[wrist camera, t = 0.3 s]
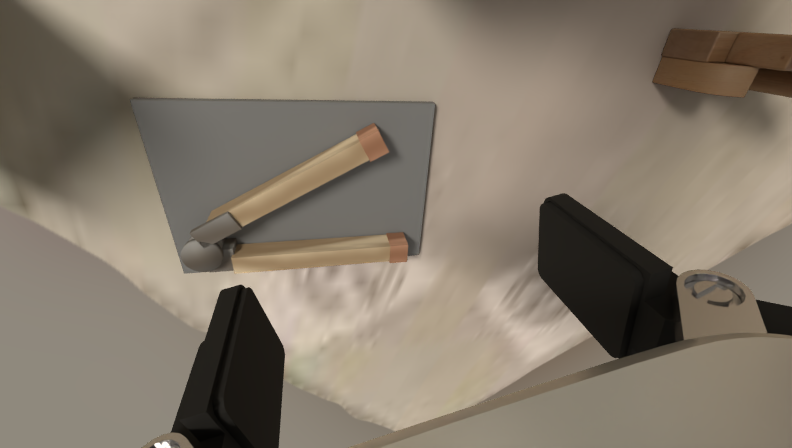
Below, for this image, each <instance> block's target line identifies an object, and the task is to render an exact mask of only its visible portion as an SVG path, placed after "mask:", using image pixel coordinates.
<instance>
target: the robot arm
mask: <svg viewBox="0 0 792 448" xmlns="http://www.w3.org/2000/svg"><path fill="white" fill-rule="evenodd" d="M672 268H673V267H671V266H670V265H668V264H667V263H666V262H664V261H663V260H661V259H660V258H658V257H657V256H655V255H654V254H652V253H651V252H650V251H648V250H647V249H645V248H644V247H642V246H641V245H639V244H638V243H637V242H635V241H634V240H632V239H631V238H629V237H628V236H626V235H625V234H624V233H622V232H621V231H619V230H618V229H616V228H615V227H613V226H612V225H611V224H609V223H608V222H606V221H605V220H603V219H602V218H600V217H599V216H597V215H596V214H595V213H593V212H592V211H590V210H589V209H587V208H586V207H584V206H583V205H582V204H580V203H579V202H577V201H576V200H574V199H573V198H571V197H570V196H569V195H567V194H565V193H564V194H559V195H555V196H552V197H548V198H546V199H545V201H544V204H541V206H540V219H539V248H538V272H539V274H540V276H541V278H542V279H543V280H544V281H545V283H546V284H547V285H548V286H549V287H550V288H551V289H552V290H553V292H554V293H555V294H556V295H557V296H558V297H559V298H560V299H561V301H562V302H563V303H564V304H565V305H566V306H567V307H568V308H569V310H570V311H571V312H572V313H573V314H574V315H575V316H576V317H577V319H578V320H579V321H580V322H581V323H582V324H583V325H584V326H585V328H586V329H587V330H588V331H589V332H590V333H591V334H592V335H593V337H594V338H595V339H596V340H597V341H598V342H599V343H600V344H601V345H602V347H603V348H604V349H605V350H606V351H607V352H608V353H609V354H610V355H611V356H612V357H614V358H619V359H617V360H614V361H610V362H608V363H604V364H601V365H598V366H595V367H592V368H589V369H586V370H583V371H579V372H576V373H573V374H570V375H567V376H564V377H561V378H558V379H554V380H551V381H548V382H545V383H542V384H539V385H536V386H533V387H530V388H527V389H523V390H521V391H517V392H514V393H511V394H509V395H505V396H502V397H499V398H496V399H493V400H490V401H487V402H484V403H481V404H478V405H475V406H472V407H469V408H465V409H462V410H459V411H456V412H453V413H450V414H447V415H444V416H441V417H438V418H435V419H432V420H429V421H426V422H423V423H420V424H417V425H414V426H411V427H408V428H405V429H402V430H399V431H396V432H393V433H390V434H387V435H384V436H381V437H378V438H375V439H372V440H369V441H367V442H363V443H360V444H357V445H354V446H351V447H348V448H792V307H790V306H784V305H780V304H775V303H770V302H764V301H760V300H755V297H754V295H753V293H752V291H751V290H750V289H749V288H748V287H747V286H746V285H745V284H744V283H742V282H741V281H739V280H737V279H735V278H733V277H731V276H729V275H726V274H723V273H720V272H715V271H711V270H690V271H687V272H684V273H682V274H681V275H680V276H678V275H676V274H675V273H673V272H672ZM284 360H285V353H284V348H283V345H282V343H281V341H280V339H279V337H278V336H277V334H276V332H275V330H274V328H273V327H272V325H271V323H270V321H269V319H268V318H267V316H266V314H265V312H264V310H263V308H262V307H261V305H260V303H259V301H258V299H257V298H256V296H255V294H254V292H253V290H252V289H251V288H250V287H248V288H245V287H244V286H243V285H238V286H234V287H231V288H227V289H224V290H222V291H221V292H220V294H219V297H218V300H217V303H216V306H215V310H214V313H213V316H212V319H211V322H210V325H209V328H208V332H207V335H206V338H205V341H203V342H202V343H201V345H200V347H199V349H198V352H197V355H196V358H195V361H194V364H193V367H192V370H191V373H190V376H189V379H188V382H187V385H186V388H185V392H184V394H183V397H182V400H181V403H180V407H179V409H178V412H177V416H176V419H175V422H174V425H173V428H172V431H171V433H168V434H163V435H161V436H159V437H157V438H155V439H153V440H151V441H150V442H149V443H147V444H146V445H145V446H143V447H142V448H278V447H279V433H280V419H281V404H282V388H283V375H284Z"/></svg>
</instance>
